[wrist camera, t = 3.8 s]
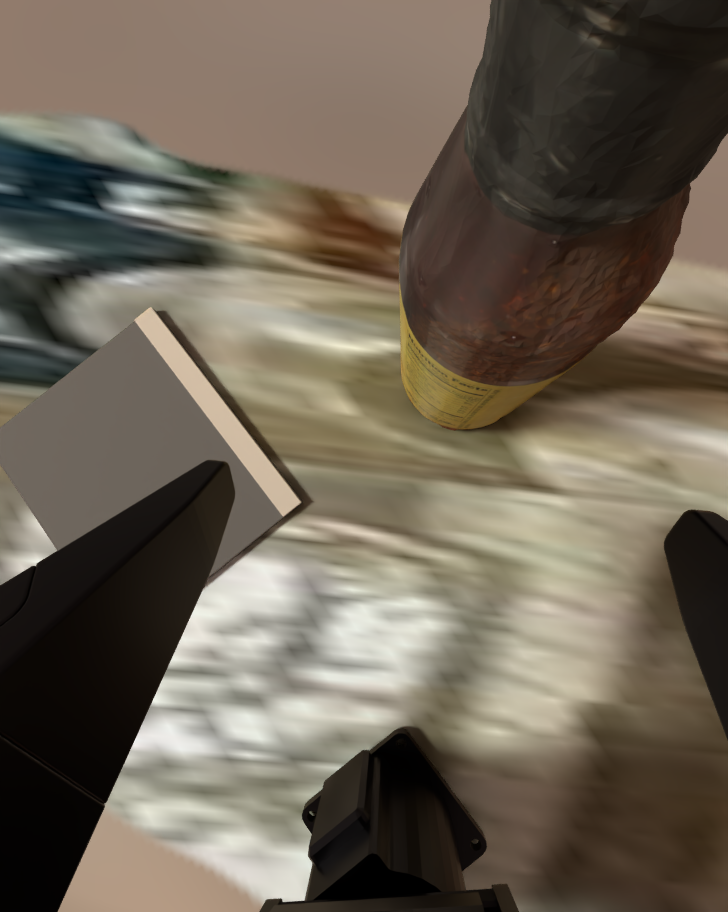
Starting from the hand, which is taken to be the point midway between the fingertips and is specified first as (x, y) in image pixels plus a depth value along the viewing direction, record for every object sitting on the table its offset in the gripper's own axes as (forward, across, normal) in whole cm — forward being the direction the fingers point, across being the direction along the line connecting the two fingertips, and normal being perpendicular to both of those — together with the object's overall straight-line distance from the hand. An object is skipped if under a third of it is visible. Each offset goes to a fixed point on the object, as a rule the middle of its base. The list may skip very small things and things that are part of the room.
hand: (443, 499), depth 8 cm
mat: (+10, +15, +9) cm, 20 cm away
